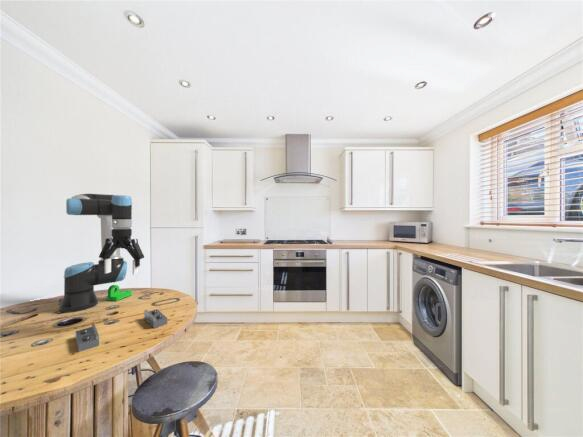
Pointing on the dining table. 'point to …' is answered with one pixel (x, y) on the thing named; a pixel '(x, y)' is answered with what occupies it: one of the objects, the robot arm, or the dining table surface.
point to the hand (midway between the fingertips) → (121, 273)
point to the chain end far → (155, 318)
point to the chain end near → (87, 338)
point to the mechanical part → (117, 293)
